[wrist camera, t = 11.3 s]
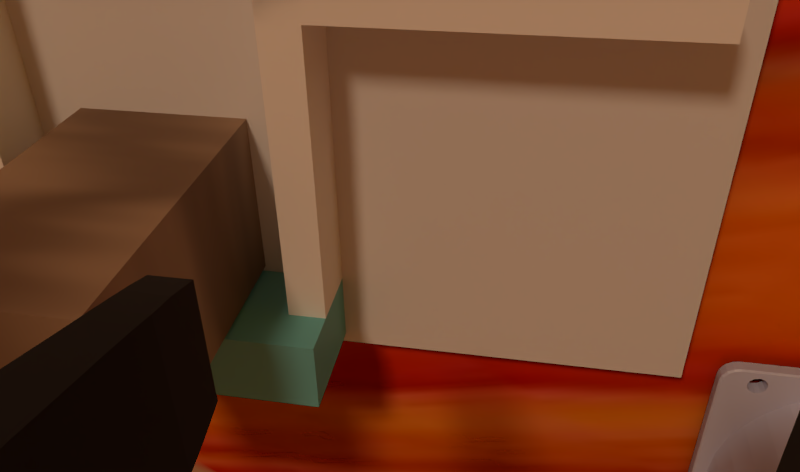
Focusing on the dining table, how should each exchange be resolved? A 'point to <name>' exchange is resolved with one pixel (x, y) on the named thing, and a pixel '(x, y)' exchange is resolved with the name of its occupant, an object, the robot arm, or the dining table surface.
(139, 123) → the brown rectangular block
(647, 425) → the dining table surface
